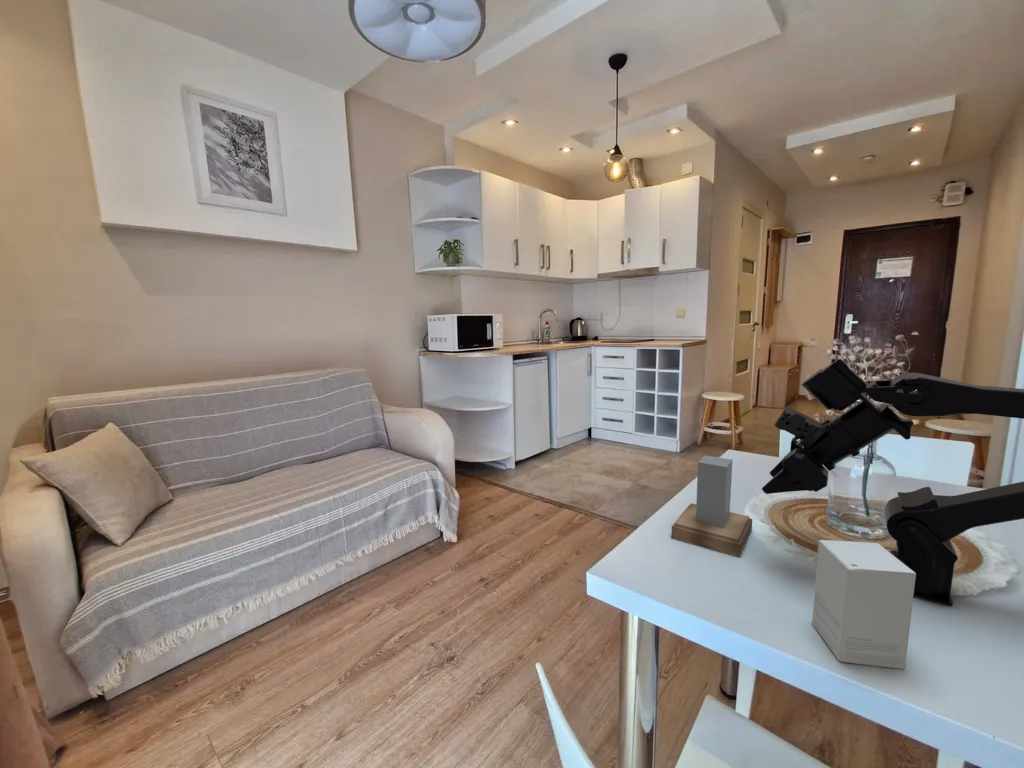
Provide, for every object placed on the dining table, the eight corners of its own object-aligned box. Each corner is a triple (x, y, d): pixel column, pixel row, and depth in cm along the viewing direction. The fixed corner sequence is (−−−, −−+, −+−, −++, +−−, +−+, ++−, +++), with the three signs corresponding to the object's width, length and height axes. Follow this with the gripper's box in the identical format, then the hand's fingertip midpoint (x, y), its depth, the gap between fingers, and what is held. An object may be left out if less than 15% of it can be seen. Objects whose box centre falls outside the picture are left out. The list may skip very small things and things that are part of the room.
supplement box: (907, 671, 52) (919, 574, 50) (837, 662, 53) (846, 568, 51) (870, 628, 59) (879, 541, 57) (809, 621, 61) (817, 537, 59)
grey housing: (729, 518, 85) (732, 459, 83) (723, 528, 81) (726, 467, 79) (702, 511, 88) (704, 455, 86) (695, 521, 84) (698, 462, 82)
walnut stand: (751, 530, 86) (752, 516, 86) (739, 557, 77) (740, 541, 76) (689, 514, 93) (689, 501, 93) (671, 537, 84) (671, 523, 84)
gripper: (814, 386, 79) (743, 435, 88) (806, 403, 65) (722, 461, 73) (865, 433, 76) (786, 480, 84) (869, 463, 61) (773, 516, 70)
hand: (767, 482), depth 78 cm, fingers open, 9 cm apart
